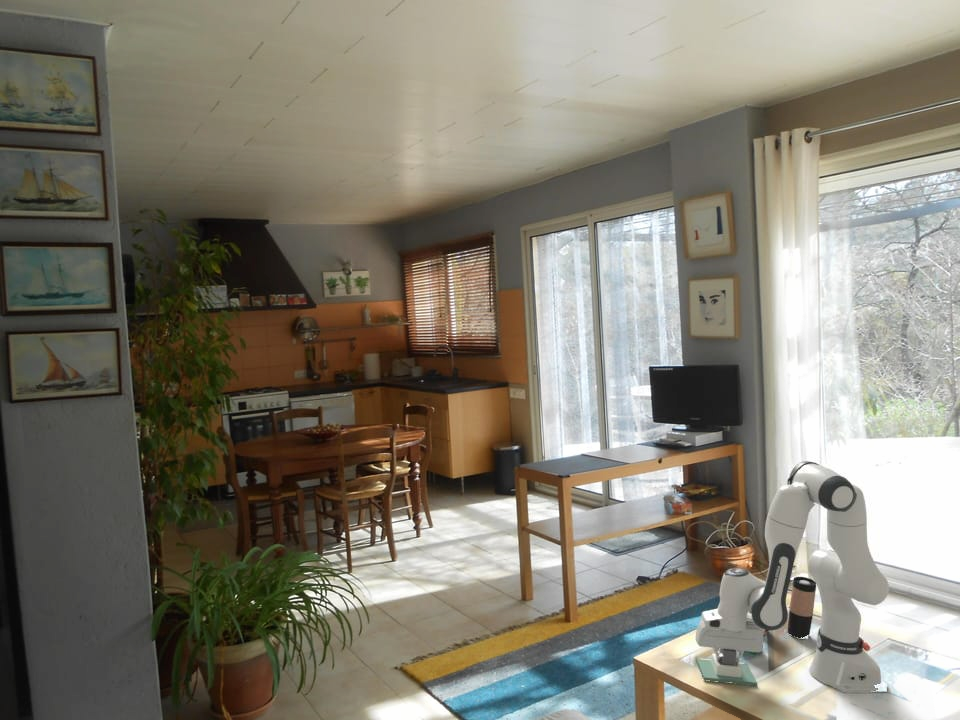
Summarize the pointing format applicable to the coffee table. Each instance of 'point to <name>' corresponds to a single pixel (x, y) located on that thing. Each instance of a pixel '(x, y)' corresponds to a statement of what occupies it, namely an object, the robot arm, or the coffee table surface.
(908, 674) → the coffee table surface
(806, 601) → the travel mug
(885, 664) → the coffee table surface
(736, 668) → the header board
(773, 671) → the coffee table surface
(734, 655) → the plug
